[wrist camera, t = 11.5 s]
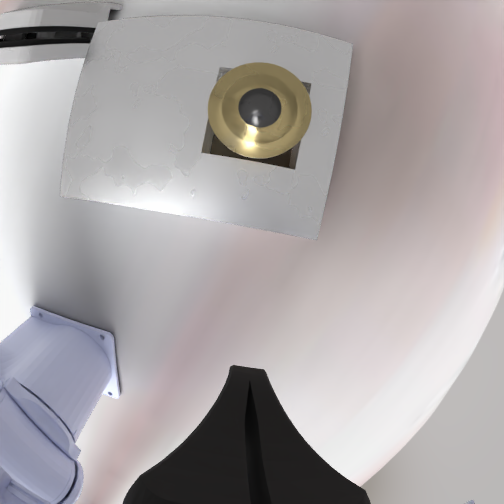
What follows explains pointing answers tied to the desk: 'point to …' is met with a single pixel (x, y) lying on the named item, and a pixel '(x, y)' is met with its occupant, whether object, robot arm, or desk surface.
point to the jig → (199, 121)
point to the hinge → (50, 31)
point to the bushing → (259, 110)
